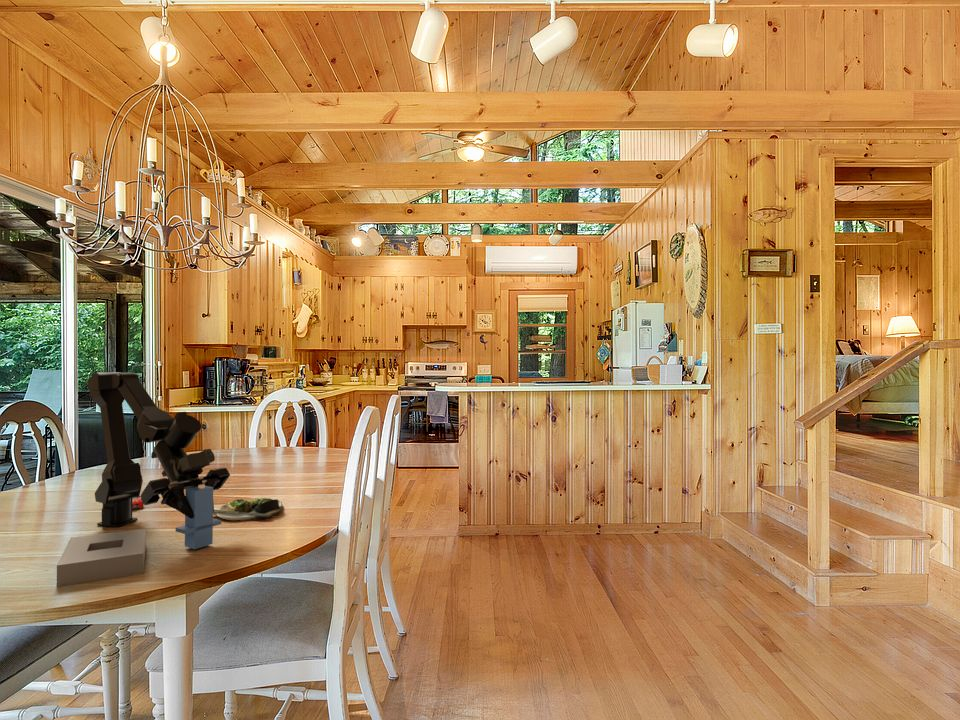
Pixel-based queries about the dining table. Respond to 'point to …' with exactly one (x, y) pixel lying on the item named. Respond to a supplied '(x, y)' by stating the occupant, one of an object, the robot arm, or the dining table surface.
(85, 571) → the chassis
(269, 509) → the salad plate
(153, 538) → the dining table surface
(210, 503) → the servo
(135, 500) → the race car
